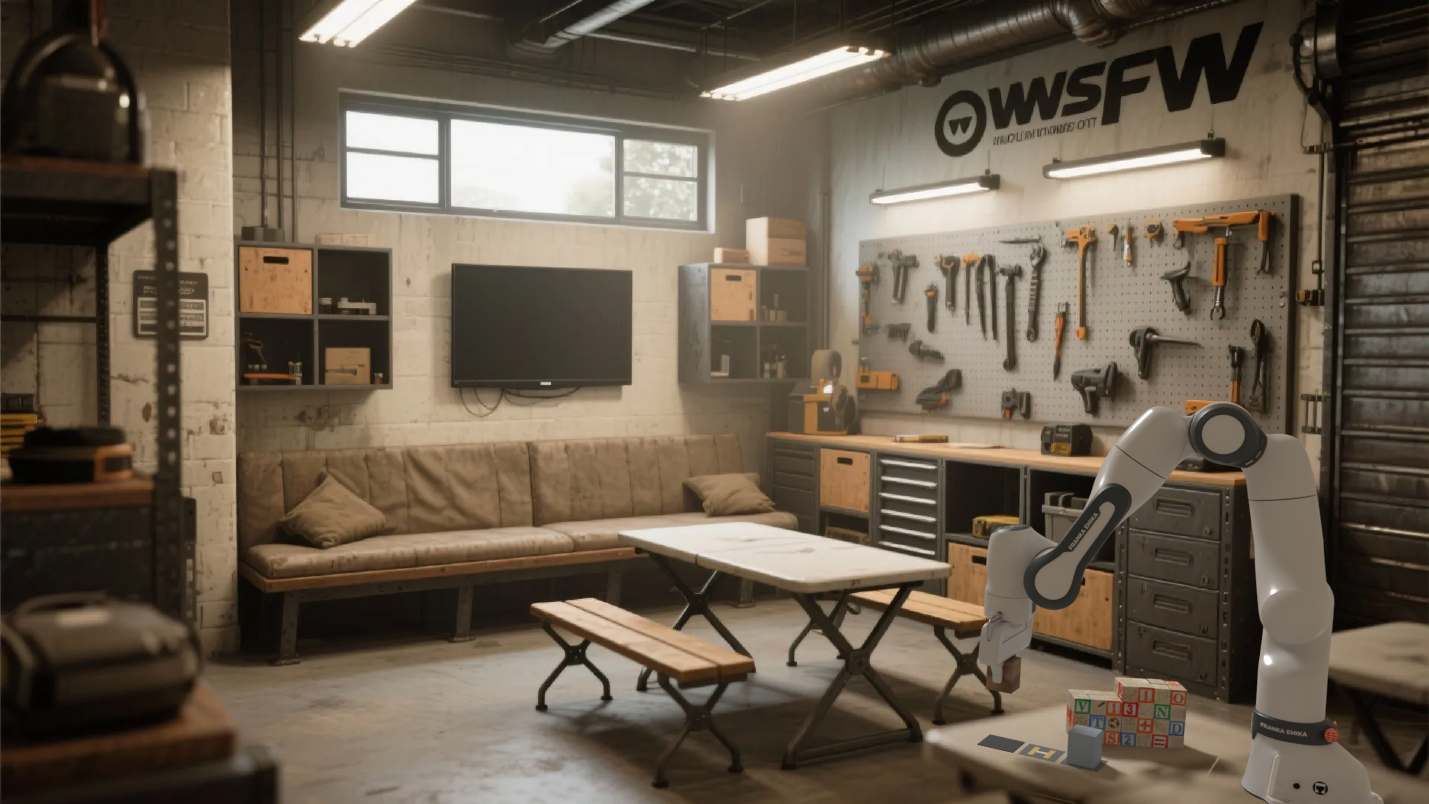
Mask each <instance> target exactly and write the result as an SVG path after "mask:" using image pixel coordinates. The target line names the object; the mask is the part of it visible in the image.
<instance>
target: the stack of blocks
mask: <svg viewBox="0 0 1429 804" xmlns="http://www.w3.org/2000/svg"><path fill="white" fill-rule="evenodd" d="M1187 696H1188V690H1187V689H1186V688H1185V687H1184V686H1183V685H1182V684H1181V683H1180V682H1179V681H1175V680H1163V679H1161V678H1160V679H1159V678H1157V679H1156V678H1135V677H1131V678H1130V677H1118V676H1117V677H1114V685H1113V691H1104V690H1102V691H1100V690H1090V689H1089V690H1088V689H1087V690H1086V689H1072V688H1071V689H1070V688H1068V690H1067V702H1066V703H1067V704H1066V720H1065V721H1066V723H1065V733H1066V735H1067V736H1068V731H1069V730H1070V729H1072V728H1073V727H1074V726H1075V725H1076V724H1077V725H1082V726H1087V727H1091V728H1096V729H1101V730H1103V738H1102V745H1110V746H1128V747H1129V746H1131V747H1144V748H1155V749H1156V748H1157V749H1170V750H1184V748H1185V747H1184V744H1185V728H1186V721H1187V720H1186V718H1187V709H1188V708H1187V706H1188V705H1187Z"/></svg>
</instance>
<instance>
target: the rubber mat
mask: <svg viewBox="0 0 1429 804" xmlns="http://www.w3.org/2000/svg"><path fill="white" fill-rule="evenodd" d="M1024 743H1025V741H1022V740H1018V739H1014V738H1009V737H1004V736H999V735H994V734H988V735H987V736H986V737H984V738H983V739H982V740H980V741H979V742H978V743H976V744H977V746H982V747H987V748H991V749H995V750H999V751H1002V752H1003V751H1004V752H1008V753H1012V754H1013V753H1014V752H1015V751H1017V750H1018V749H1019V748H1020V747H1021V746H1023V744H1024Z"/></svg>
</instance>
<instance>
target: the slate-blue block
mask: <svg viewBox="0 0 1429 804" xmlns="http://www.w3.org/2000/svg"><path fill="white" fill-rule="evenodd" d="M1102 738H1103V730H1101V729H1096V728H1091V727H1087V726H1082V725H1077V724H1076V725H1075V726H1074V727H1073V728H1072V729H1070V730H1069V731H1068V735H1067V749H1066V750H1067V751H1066V753H1067V754H1066V757H1067V763H1069V764H1074V765H1078V766H1082V767H1087V768H1091V769H1094V768H1095V767H1096V766H1097V765H1098V764H1099V763H1100V762H1101V760H1102V755H1103V754H1102V751H1103V744H1102Z"/></svg>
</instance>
